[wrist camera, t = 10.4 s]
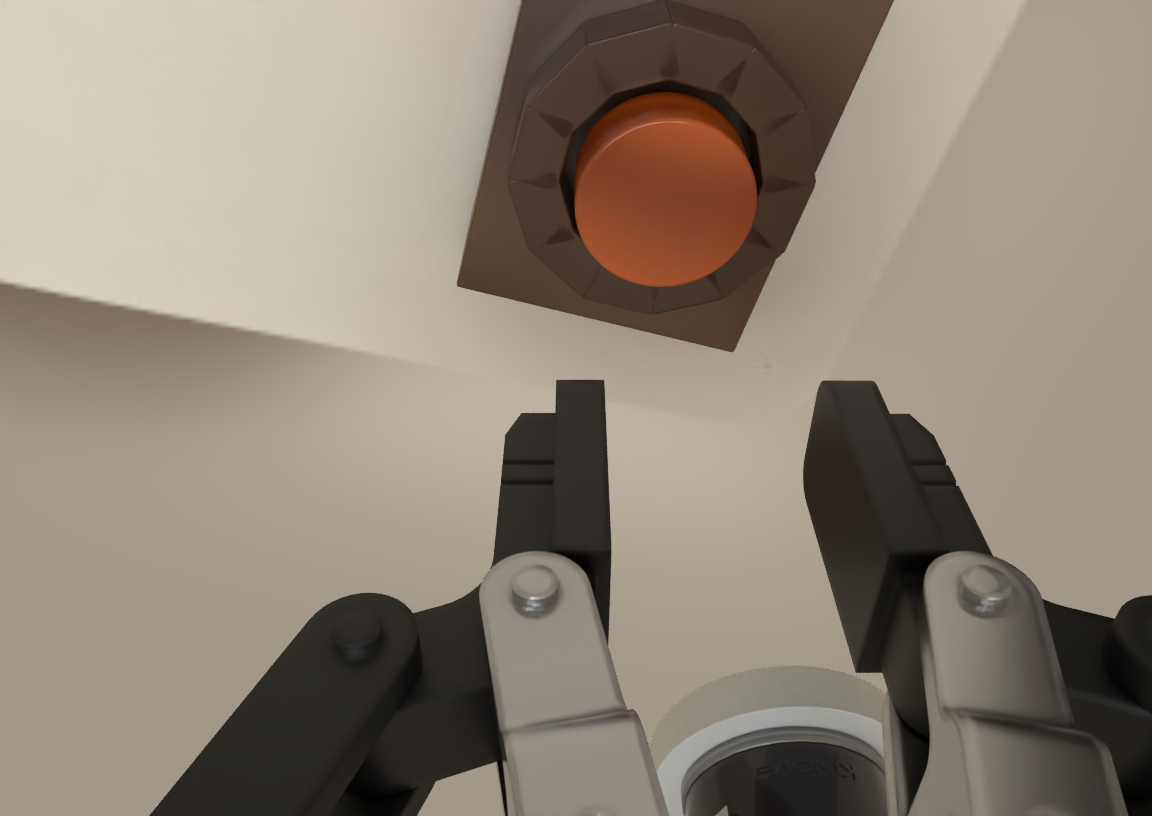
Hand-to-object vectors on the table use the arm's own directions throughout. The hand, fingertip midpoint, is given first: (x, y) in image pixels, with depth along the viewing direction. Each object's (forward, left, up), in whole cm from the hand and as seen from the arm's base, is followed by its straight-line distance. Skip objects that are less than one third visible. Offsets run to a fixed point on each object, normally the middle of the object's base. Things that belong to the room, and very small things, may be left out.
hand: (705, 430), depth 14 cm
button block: (0, 0, -13) cm, 13 cm away
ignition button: (0, 0, -10) cm, 10 cm away
